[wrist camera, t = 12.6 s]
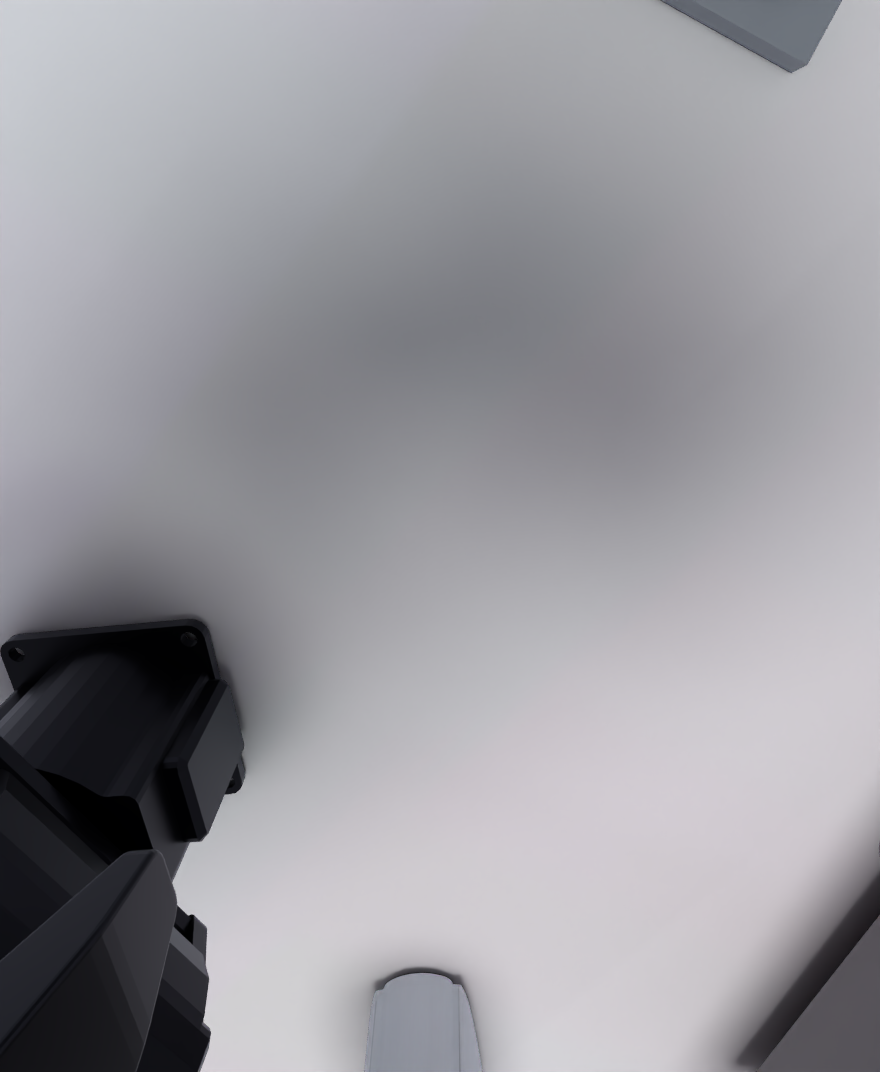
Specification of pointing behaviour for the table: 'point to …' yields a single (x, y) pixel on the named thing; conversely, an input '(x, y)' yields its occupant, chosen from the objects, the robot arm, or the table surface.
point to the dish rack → (767, 25)
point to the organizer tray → (838, 1019)
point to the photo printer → (421, 1027)
